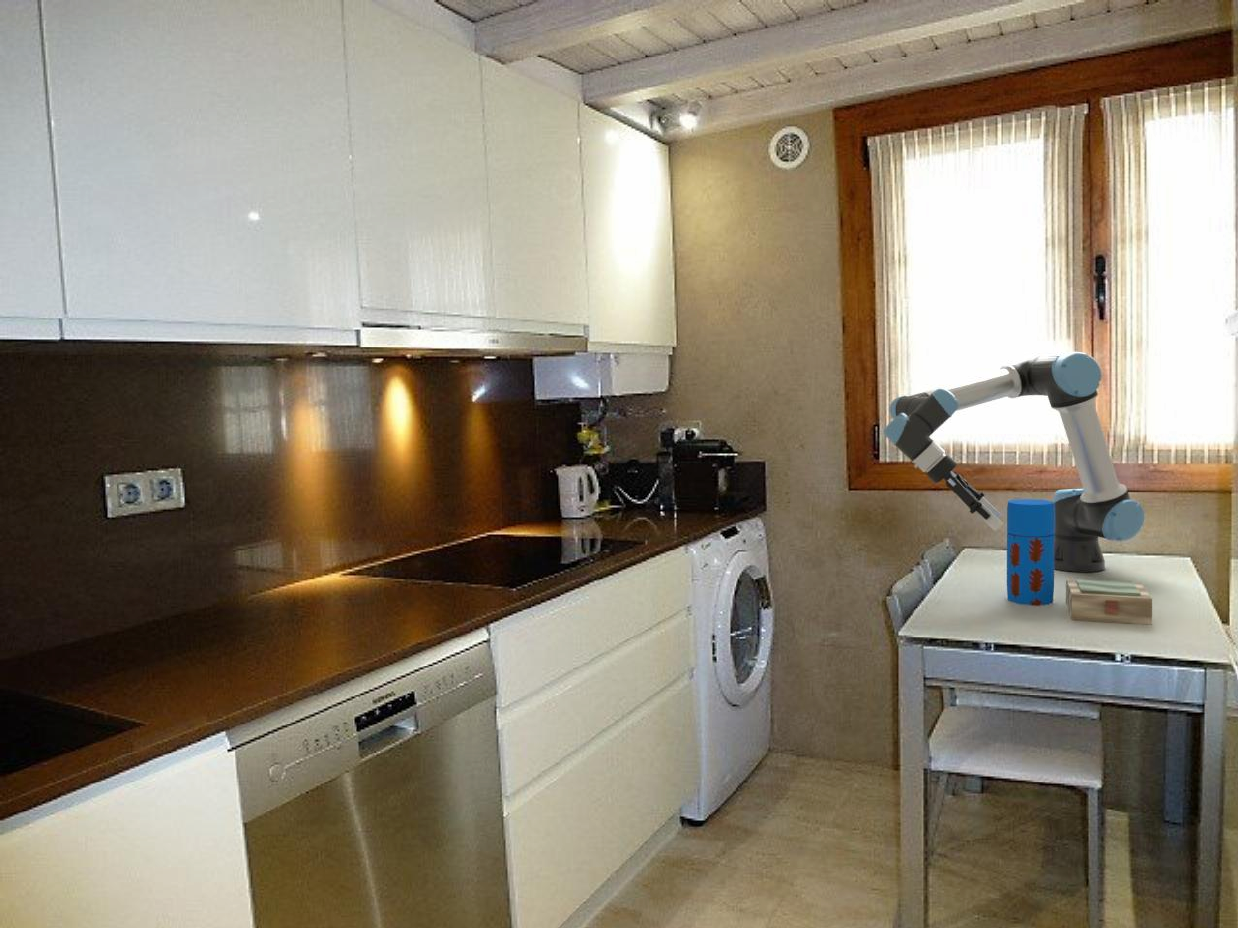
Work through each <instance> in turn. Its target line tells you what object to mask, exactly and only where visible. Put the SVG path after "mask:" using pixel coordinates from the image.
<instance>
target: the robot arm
mask: <svg viewBox="0 0 1238 928" xmlns="http://www.w3.org/2000/svg"><path fill="white" fill-rule="evenodd" d="M1101 381H1102V370H1101V367H1100V364H1099V363H1098V362H1097V359H1095V358H1094V357H1092V355H1089V354H1087V353H1085V352H1081V351H1080V352H1079V351H1074V350H1073V351H1064V352H1062V351H1061V352H1050V353H1048V352H1047V353H1039V354H1035V355H1032V356H1030V357H1029V356H1028V357H1026V358H1023V359H1021V360H1017V361H1014V362H1012V363H1009V364H1005V365H1002V366H1001V367H1000V369H999V370H997V371H993V372H990V373H986V374H982V375H978V376H977V377H973V378H969V379H965V380H962V381H958V382H955V383H952V384H947V385H944V386H941V387H937V388H934V389H930V390H927V391H923V392H919V393H915V394H912V395H909V396H908V395H902V396H898V397H896V398H894V400H892V402H891V403H890V406H889V414H890V417H891V419H892V420H891V422H889V423H888V424H887V425H886V426H885V428H884V429H883V434H884V436H885V437H886V438H887V439H888V441H890V442H891V443H892V444H893V446H895V447H896V448H897V449H898V450H899V451H900V452H902V454H904V455H905V456H906V457H907V458H908V459H909V460H910V461H912V463H913V464H914V468H915V469H917V468H919V470H921V471H922V472H923V473H925V472H926V476H927V478H929V479H930V480H931V481H932V482H933V483H934V484H939V483H940V482H941V481H942V480H944V481H945V485H946V486H947V487H948V488H949V489H950V490H951V491H952V492H953V493H954V494H955V495H956V496H957V497H958V498H959V499H960V500H961V501H962V502H963V503H964V504H965V505H966V506H967V507H968V509H969V512H970V514H972V515H973V514H974V513H975V514H976V515H977V516H978V517H979V518H980V519H982V521H984V523H986V525H988V526H989V527H990V529H992V530H993V531H994V532H995V531H997V530H998V529H1000V527H1002V525H1003V524H1004V523H1003V521H1002V520H1001V519H1000V518H1001V517H1002V516H1003V514H1002V513H1001V512H999V510H998V509H997V508H995V506H993V505H992V504H991V503H990V502H989V501H988V500H987V499H986V498H985V497H984V496H985V493H984V492H983V491H982V492H980V491H978V490H977V489H976V488H975V487H973V486H972V485H971V484H969V482H968V481H967V480H966V479H965V478H964V477H963V476H962V475H961V474H960V473H957V471H955V470H954V469H955V468H957V465H958V462H957V461H956V460H954V458H952V457H951V455H949V454H945V453H946V451H945V450H944V449H943V448H942V447H941V446H940V445H939V444H938V443H937V442H936V441H934V439H932V438H931V437H930V436H932V435H933V434H934V433H935V432H936V431H937V430H938V429H939V428H940V427H941V426H942V425H944V423H946V421H947V420H949V419H951V417H952V416H953V415H954V413H956V412H957V411H960V410H964V409H969V408H971V407H974V406H978V405H981V404H985V403H988V402H993V401H995V400H999V399H1003V398H1005V397H1008V399H1009V398H1010V399H1016V398H1020V397H1025V396H1045V397H1046V396H1047V398H1048V401H1049V404H1050V407H1051V409H1052V410H1053V409H1054V410H1056V411H1057V412H1059V415H1060V418H1061V422H1062V424H1063V425H1062V426H1063V427H1064V432H1065V434H1066V438H1067V440H1068V443H1069V447H1070V450H1071V454H1072V456H1073V460H1074V463H1075V466H1076V468H1077V472H1078V476H1079V479H1080V482H1081V484H1082V488H1070V489H1069V488H1068V489H1058V490H1057V491H1055V492H1054V496H1053V502H1054V505H1055V556H1054V570H1057V571H1058V570H1059V571H1065V572H1079V573H1088V572H1089V573H1092V572H1094V573H1095V572H1100V571H1104V570H1105V566H1106V562H1105V557H1104V555H1103V551H1102V550H1101V546H1100V543H1099V538H1101V539H1102V538H1103V539H1106V540H1108V541H1115V542H1116V541H1117V542H1126V541H1129V540H1132V539H1133V538H1134V537H1135V536H1137V535H1138V533H1140V531H1141V528H1142V527H1143V525H1144V523H1145V517H1146V515H1145V510H1144V507H1143V506H1142V505H1141V504H1140V503H1139V502H1138V501H1137V500H1134V499H1131V498H1130V497H1131V496H1130V494H1129V490H1128V488H1127V486H1126V485H1125V484H1122V483H1120V482H1119V479H1118V476H1117V474H1116V470H1115V467H1114V464H1113V461H1112V456H1111V454H1110V451H1109V450H1110V449H1109V448H1108V445H1107V441H1106V438H1105V435H1104V432H1103V427H1102V424H1101V422H1100V419H1099V416H1098V413H1097V409H1096V405H1095V403H1094V402H1095V400H1096V399H1097V397H1098V395H1099V394H1098V389H1099V387H1100V385H1101V384H1100V382H1101ZM953 470H954V471H953Z"/></svg>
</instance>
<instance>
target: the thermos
mask: <svg viewBox="0 0 1238 928" xmlns="http://www.w3.org/2000/svg"><path fill="white" fill-rule="evenodd" d="M1006 532H1007V533H1006V595H1007V600H1008V601H1009V602H1012V603H1015V604H1018V605H1026V606H1047V605H1050V604H1053V602H1054V595H1055V593H1054V592H1055V569H1054V556H1055V505H1054V500H1053V501H1052V500H1048V499H1035V498H1021V499H1020V498H1019V499H1018V498H1017V499H1011V500H1010V499H1009V500H1008V501H1007V507H1006Z"/></svg>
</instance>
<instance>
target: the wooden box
mask: <svg viewBox="0 0 1238 928" xmlns="http://www.w3.org/2000/svg"><path fill="white" fill-rule="evenodd" d="M1065 605H1066V607H1067V610H1068V612H1069V613H1068V614H1069V615H1070V618H1071V621H1087V622H1101V623H1117V624H1118V623H1120V624H1134V625H1135V624H1137V625H1147V626H1148V625H1151V626H1152V624H1153V597H1152V596H1151V595H1150V593H1149V591H1147V589H1146V587H1144V585H1143V584H1142V583H1141V582H1135V581H1129V580H1128V581H1127V580H1104V579H1103V580H1101V579H1087V578H1085V579H1084V578H1075V579H1068V578H1066V579H1065Z"/></svg>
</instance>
